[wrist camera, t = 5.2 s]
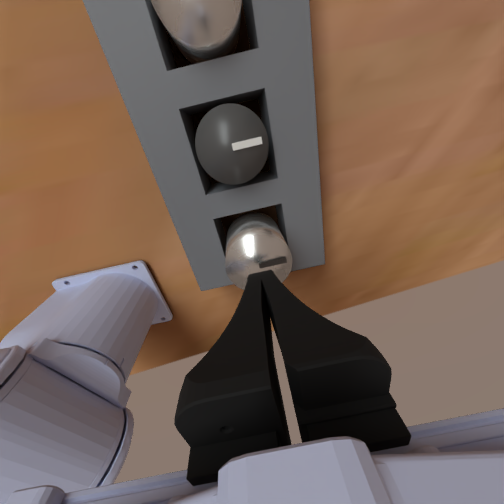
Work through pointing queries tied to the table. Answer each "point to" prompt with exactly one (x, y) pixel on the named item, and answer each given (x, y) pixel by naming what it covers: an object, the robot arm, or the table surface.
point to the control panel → (208, 97)
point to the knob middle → (231, 144)
